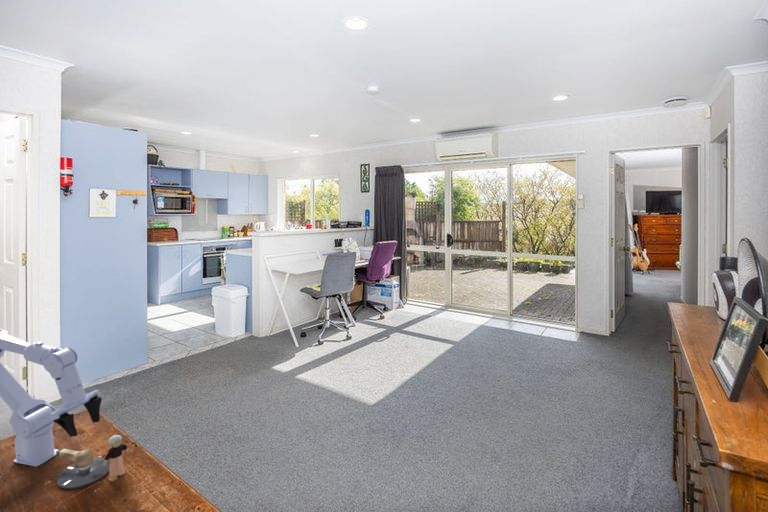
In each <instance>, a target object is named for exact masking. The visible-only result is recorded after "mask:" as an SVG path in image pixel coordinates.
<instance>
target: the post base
mask: <svg viewBox="0 0 768 512" xmlns="http://www.w3.org/2000/svg"><path fill="white" fill-rule="evenodd" d="M104 458H105V457H93V462H92V464H90V465H89V466H86V467H84V468H76V467H75V463H73V464H71V465H69V466H67V467H66V468H65V469H63V470H61V472H60V473H59V474H58V475H57V479H56V484H57V486H58V487H59V488H60V489H64V490H75V489H79V488H80V489H81V488H83V487H88V486H89V485H93V484H94V483H96V482H98V481H100V480H101V479H103V478H105V477H106V476H107V475H109V467H110V459H109V460H108V462H107V464H106V466H103V465H102V464H103V463H104ZM106 474H107V475H106Z"/></svg>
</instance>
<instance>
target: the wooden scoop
mask: <svg viewBox="0 0 768 512" xmlns="http://www.w3.org/2000/svg"><path fill="white" fill-rule="evenodd" d="M56 454H57V455H56V459H63V460H69V461H74V462H73V464H75V467H76V468H84V467H86V466H89V465H90V464H92V462H93V458H94V456H93V455H94V454H93V450H92V449H84V450H83V449H82V450H80V451H79V450H73V449H68V448H64V447H61V448H60V449H58V451H56Z"/></svg>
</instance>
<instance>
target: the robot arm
mask: <svg viewBox="0 0 768 512" xmlns="http://www.w3.org/2000/svg"><path fill="white" fill-rule="evenodd" d="M5 352H10V353H15V354H18V355H22V356H23V358H24V360H25V361H28V362H30V363H35V364H36V365H40V366H43V368H44V370H45V371H46V372H48V373H49V374H50V376H51V379H54V382H55V384H56V387H57V390H58V392H59V395H60V398H61V401H62V403H63V405H62V406H61V407H59V408H56V407H55V406H53V405H52V404H49V403H48V402H47V401H46V400H45V399H38V398H33V397H32V396H31V395H30V393H29V392H28V391H26V389H25V388H24V387H23V386H22V385H21V384H20V383H19V382H18V381H17V379H15V377H14V376H13V375H12V374H11V373H10V372H9V370H8V369H7V368H6V367H5V366H4V365H3V364H2V362H0V399H1V400H2V401H3V402H4V403H5V404H6V405H7V407H8V408H9V409H11V411H12V414H11V415H10V417H9V420H8V422H9V424H10V425H11V427H12V429H13V432H14V434H15V435H16V437H15V439H14V449H15V450H14V451H15V459H13V463H16V464H22V465H25V466H26V465H28V466H31V467H39V466H40V465H42V464H44V463H45V462H47V461H48V460H50V459H52V458H53V457H56V456H57V454H56V451H58V450H59V449H57V448H55V442H54V434H53V426H54V425H55V424H57V425H59V426H60V427H61V428H62V429H63V430H64V431H65V432H66V433H67V435H68V436H69V438H72V437H76V436H78V432H77V431H78V430H77V428H76V425H75V421H74V417H75V415H74V413H70V412H72V411H73V410H75V409H77V408H79V407H80V406H82V405H83V406H84V408H85V409H86V410H87V412H88V414H89V418H90V420H91V421H92V423H94V424H95V423H99V422H100V421H101V420H100V419H101V418H100V416H101V415H100V410H101V403H102V401H103V399H102V397H101V394H102V393H101V391H100V389H95V390H92V391H91V392H88V393H86V391H85V388H84V386H83V383H82V379H81V377H80V375H79V372H78V370H77V366H76V363H77V361H78V354H77V352H76V351H75V349H73V348H71V347H70V346H65V347H63V348H58V347H57V346H51V345H48V344H45V343H44V342H42V341H37V342H36V341H35V342H33V343H29V342H27V341H25V340H23V339H20V338H18V337H15V336H12V335H11V334H10V332H9V331H8V330H4V329H2V328H0V359H1V358H2V357H3V356H4V355H5Z"/></svg>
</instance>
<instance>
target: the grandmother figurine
mask: <svg viewBox="0 0 768 512" xmlns="http://www.w3.org/2000/svg"><path fill="white" fill-rule="evenodd" d="M122 440H123V437H122V435H120V434H119V435H118V434H113V435H112V436H111V437H110V438H109V439H108V444H109V445H110V446H111V448H109V450H108V451H107V453H106V455H105V456H104V457H103V458H104V463H103V464H102V465H103V466H106V464H107V462H108V460H110V467H109V472H108V475H109V476H108V480H109V481H110V482H115V481H116V480H118V477H121V476H124V475H125V474H126V471H125V466H124V459H123V458H124V457H123V451H125V453H129V452H130V448H129V447H128V445H126V444H125V443H124V444H123V443H122Z"/></svg>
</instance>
